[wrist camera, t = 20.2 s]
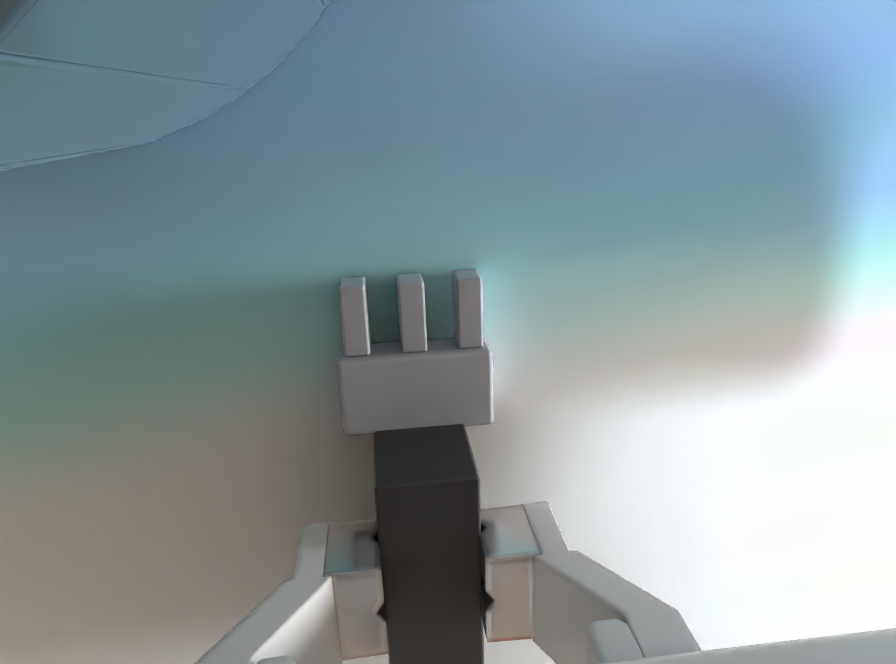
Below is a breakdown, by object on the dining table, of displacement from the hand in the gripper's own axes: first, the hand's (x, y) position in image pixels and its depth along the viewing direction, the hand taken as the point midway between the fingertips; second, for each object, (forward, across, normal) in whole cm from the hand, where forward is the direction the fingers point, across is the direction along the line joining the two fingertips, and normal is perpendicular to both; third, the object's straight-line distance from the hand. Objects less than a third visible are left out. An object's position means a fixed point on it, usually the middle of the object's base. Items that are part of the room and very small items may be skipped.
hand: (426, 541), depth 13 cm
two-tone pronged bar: (+2, 0, -1) cm, 2 cm away
